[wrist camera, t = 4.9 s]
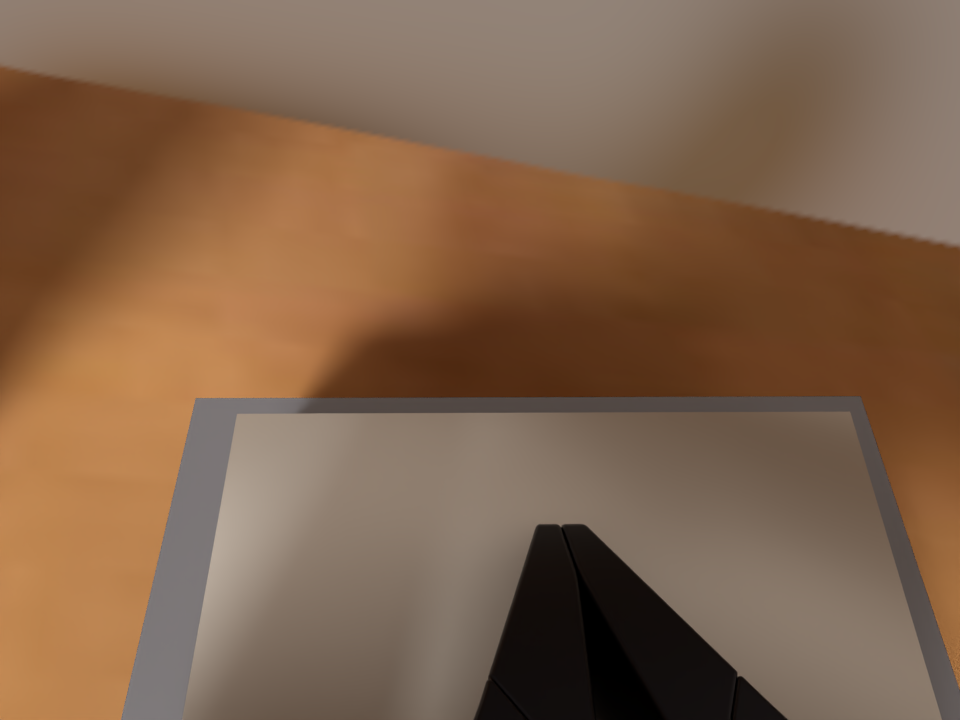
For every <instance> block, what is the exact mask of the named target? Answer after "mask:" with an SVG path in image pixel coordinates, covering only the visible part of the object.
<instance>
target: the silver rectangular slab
mask: <svg viewBox="0 0 960 720" xmlns="http://www.w3.org/2000/svg"><path fill="white" fill-rule="evenodd" d="M538 524H558V525H559V526H560V527H561V526H562V525H563V524H584V525H586V526H588V527H589V528H590V529H591V530H592V531H593V532H594V533H595V534H596V535H597V536H598V537H599V538H600V539H601V540H602V541H603V542H604V543H605V544H606V545H607V546H608V547H609V548H610V549H611V550H612V551H613V552H614V553H615V554H616V555H617V556H619V557H620V558H621V559H622V560H623V561H624V562H625V563H626V564H627V565H628V566H629V567H630V568H631V569H632V570H633V571H634V572H635V573H636V574H637V575H638V576H639V577H640V578H641V579H642V580H643V581H644V582H645V583H646V584H647V585H648V586H650V587H651V588H652V589H653V590H654V591H655V592H656V593H657V594H658V595H659V596H660V597H661V598H662V599H663V600H664V601H665V602H666V603H667V604H668V605H669V606H670V607H671V608H672V609H673V610H674V611H675V612H676V613H677V614H678V615H679V616H680V617H682V618H683V619H684V620H685V621H686V622H687V623H688V624H689V625H690V626H691V627H692V628H693V629H694V630H695V631H696V632H697V633H698V634H699V635H700V636H701V637H702V638H703V639H704V640H705V641H706V642H707V643H708V644H709V645H710V646H711V647H713V648H714V649H715V650H716V651H717V652H718V653H719V654H720V655H721V656H722V657H723V658H724V659H725V660H726V661H727V662H728V663H729V664H730V665H731V666H732V667H733V668H734V669H735V670H736V671H737V672H738V676H742V677H744V678H745V679H746V680H747V681H748V682H749V683H750V684H751V685H752V686H753V687H754V688H755V689H756V690H757V691H758V692H759V693H760V694H761V695H762V696H763V697H764V698H766V699H767V700H768V701H769V702H770V703H771V704H772V705H773V706H774V707H775V708H776V709H777V710H778V711H780V712H781V713H782V714H783V715H784V716H785V717H786V718H787V719H788V720H942V718H941V715H940V711H939V708H938V705H937V701H936V698H935V694H934V691H933V688H932V684H931V681H930V678H929V674H928V671H927V668H926V664H925V661H924V658H923V654H922V651H921V648H920V644H919V641H918V638H917V634H916V631H915V627H914V624H913V621H912V617H911V614H910V611H909V607H908V604H907V601H906V597H905V594H904V591H903V587H902V584H901V581H900V577H899V574H898V571H897V567H896V564H895V560H894V557H893V554H892V550H891V547H890V544H889V540H888V537H887V534H886V530H885V527H884V524H883V520H882V517H881V514H880V510H879V507H878V504H877V500H876V497H875V493H874V490H873V487H872V483H871V480H870V477H869V473H868V470H867V467H866V463H865V460H864V457H863V453H862V450H861V447H860V443H859V440H858V436H857V433H856V430H855V426H854V423H853V420H852V416H851V413H850V412H592V413H313V414H237V417H236V422H235V428H234V433H233V439H232V445H231V450H230V456H229V461H228V467H227V472H226V478H225V484H224V489H223V495H222V500H221V506H220V511H219V517H218V522H217V528H216V534H215V539H214V545H213V550H212V556H211V561H210V567H209V573H208V578H207V584H206V589H205V595H204V600H203V606H202V611H201V617H200V623H199V628H198V634H197V639H196V645H195V650H194V656H193V661H192V667H191V673H190V678H189V684H188V689H187V695H186V700H185V706H184V712H183V717H182V720H473V719H474V716H475V714H476V711H477V708H478V705H479V702H480V699H481V696H482V693H483V690H484V687H485V684H486V681H487V680H488V675H489V672H490V669H491V666H492V663H493V660H494V656H495V653H496V650H497V647H498V644H499V641H500V638H501V634H502V631H503V628H504V625H505V622H506V619H507V616H508V612H509V609H510V606H511V603H512V600H513V597H514V594H515V590H516V587H517V584H518V581H519V578H520V575H521V572H522V568H523V565H524V562H525V559H526V556H527V553H528V550H529V546H530V543H531V540H532V537H533V534H534V531H535V528H536V526H537V525H538ZM737 678H738V677H737Z"/></svg>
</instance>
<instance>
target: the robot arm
mask: <svg viewBox="0 0 960 720" xmlns="http://www.w3.org/2000/svg"><path fill="white" fill-rule="evenodd" d="M737 677H738V678H737ZM473 720H788V719H787V718H786V717H785V716H784V715H783V714H782V713H781V712H780V711H778V710H777V709H776V708H775V707H774V706H773V705H772V704H771V703H770V702H769V701H768V700H767V699H766V698H764V697H763V696H762V695H761V694H760V693H759V692H758V691H757V690H756V689H755V688H754V687H753V686H752V685H751V684H750V683H749V682H748V681H747V680H746V679H745V678H744V677H742V676H738V672H737V671H736V670H735V669H734V668H733V667H732V666H731V665H730V664H729V663H728V662H727V661H726V660H725V659H724V658H723V657H722V656H721V655H720V654H719V653H718V652H717V651H716V650H715V649H714V648H713V647H711V646H710V645H709V644H708V643H707V642H706V641H705V640H704V639H703V638H702V637H701V636H700V635H699V634H698V633H697V632H696V631H695V630H694V629H693V628H692V627H691V626H690V625H689V624H688V623H687V622H686V621H685V620H684V619H683V618H682V617H680V616H679V615H678V614H677V613H676V612H675V611H674V610H673V609H672V608H671V607H670V606H669V605H668V604H667V603H666V602H665V601H664V600H663V599H662V598H661V597H660V596H659V595H658V594H657V593H656V592H655V591H654V590H653V589H652V588H651V587H650V586H648V585H647V584H646V583H645V582H644V581H643V580H642V579H641V578H640V577H639V576H638V575H637V574H636V573H635V572H634V571H633V570H632V569H631V568H630V567H629V566H628V565H627V564H626V563H625V562H624V561H623V560H622V559H621V558H620V557H619V556H617V555H616V554H615V553H614V552H613V551H612V550H611V549H610V548H609V547H608V546H607V545H606V544H605V543H604V542H603V541H602V540H601V539H600V538H599V537H598V536H597V535H596V534H595V533H594V532H593V531H592V530H591V529H590V528H589V527H588V526H586V525H584V524H563V525H562V526H561V527H560V526H559V525H558V524H538V525H537V526H536V528H535V531H534V534H533V537H532V540H531V543H530V546H529V550H528V553H527V556H526V559H525V562H524V565H523V568H522V572H521V575H520V578H519V581H518V584H517V587H516V590H515V594H514V597H513V600H512V603H511V606H510V609H509V612H508V616H507V619H506V622H505V625H504V628H503V631H502V634H501V638H500V641H499V644H498V647H497V650H496V653H495V656H494V660H493V663H492V666H491V669H490V672H489V675H488V680H487V681H486V684H485V687H484V690H483V693H482V696H481V699H480V702H479V705H478V708H477V711H476V714H475V716H474V719H473Z"/></svg>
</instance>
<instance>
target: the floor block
mask: <svg viewBox="0 0 960 720" xmlns="http://www.w3.org/2000/svg"><path fill="white" fill-rule="evenodd" d="M592 412H850V413H851V416H852V420H853V423H854V426H855V430H856V433H857V436H858V440H859V443H860V447H861V450H862V453H863V457H864V460H865V463H866V467H867V470H868V473H869V477H870V480H871V483H872V487H873V490H874V493H875V497H876V500H877V504H878V507H879V510H880V514H881V517H882V520H883V524H884V527H885V530H886V534H887V537H888V540H889V544H890V547H891V550H892V554H893V557H894V560H895V564H896V567H897V571H898V574H899V577H900V581H901V584H902V587H903V591H904V594H905V597H906V601H907V604H908V607H909V611H910V614H911V617H912V621H913V624H914V627H915V631H916V634H917V638H918V641H919V644H920V648H921V651H922V654H923V658H924V661H925V664H926V668H927V671H928V674H929V678H930V681H931V684H932V688H933V691H934V694H935V698H936V701H937V705H938V708H939V711H940V715H941V718H942V720H960V690H959V687H958V684H957V681H956V678H955V675H954V672H953V669H952V666H951V663H950V660H949V657H948V654H947V651H946V648H945V645H944V643H943V640H942V637H941V634H940V631H939V628H938V625H937V622H936V619H935V616H934V613H933V610H932V607H931V604H930V601H929V598H928V595H927V592H926V589H925V586H924V583H923V580H922V577H921V574H920V571H919V568H918V565H917V562H916V559H915V556H914V553H913V550H912V547H911V544H910V541H909V539H908V536H907V533H906V530H905V527H904V524H903V521H902V518H901V515H900V512H899V509H898V506H897V503H896V500H895V497H894V494H893V491H892V488H891V485H890V482H889V479H888V476H887V473H886V470H885V467H884V464H883V461H882V458H881V455H880V452H879V449H878V446H877V443H876V440H875V437H874V435H873V432H872V429H871V426H870V423H869V420H868V417H867V414H866V411H865V408H864V405H863V402H862V399H861V396H802V397H461V398H196V400H195V404H194V409H193V413H192V417H191V421H190V426H189V430H188V434H187V439H186V443H185V447H184V452H183V456H182V460H181V464H180V469H179V473H178V477H177V482H176V486H175V490H174V494H173V499H172V503H171V507H170V512H169V516H168V520H167V525H166V529H165V533H164V537H163V542H162V546H161V550H160V555H159V559H158V563H157V568H156V572H155V576H154V580H153V585H152V589H151V593H150V598H149V602H148V606H147V611H146V615H145V619H144V623H143V628H142V632H141V636H140V641H139V645H138V649H137V654H136V658H135V662H134V666H133V671H132V675H131V679H130V684H129V688H128V692H127V696H126V701H125V705H124V709H123V714H122V718H121V720H182V717H183V712H184V706H185V700H186V695H187V689H188V684H189V678H190V673H191V667H192V661H193V656H194V650H195V645H196V639H197V634H198V628H199V623H200V617H201V611H202V606H203V600H204V595H205V589H206V584H207V578H208V573H209V567H210V561H211V556H212V550H213V545H214V539H215V534H216V528H217V522H218V517H219V511H220V506H221V500H222V495H223V489H224V484H225V478H226V472H227V467H228V461H229V456H230V450H231V445H232V439H233V433H234V428H235V422H236V417H237V414H313V413H592Z"/></svg>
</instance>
